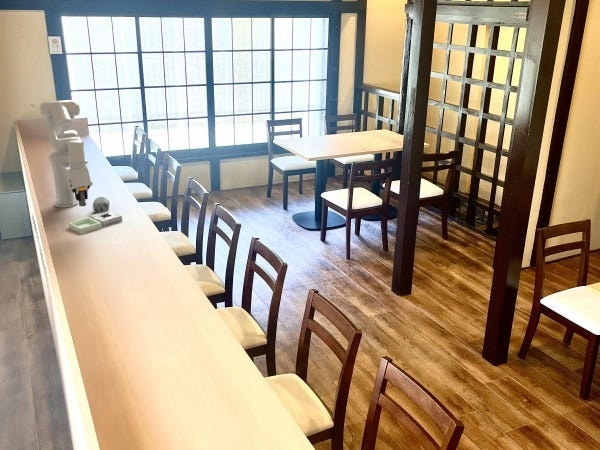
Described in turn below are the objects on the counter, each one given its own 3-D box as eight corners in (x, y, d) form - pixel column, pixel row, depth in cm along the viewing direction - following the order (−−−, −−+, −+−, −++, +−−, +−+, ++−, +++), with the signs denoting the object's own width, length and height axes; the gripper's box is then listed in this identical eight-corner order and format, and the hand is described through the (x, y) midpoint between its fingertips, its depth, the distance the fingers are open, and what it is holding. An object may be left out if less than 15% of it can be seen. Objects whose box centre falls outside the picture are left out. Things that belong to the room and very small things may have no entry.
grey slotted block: (90, 221, 304) (89, 215, 302) (109, 215, 312) (109, 210, 311) (102, 226, 296) (101, 221, 295) (122, 220, 305) (121, 215, 304)
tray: (68, 227, 294) (67, 222, 293) (89, 221, 302) (88, 217, 301) (80, 233, 286) (80, 228, 285) (101, 227, 295) (101, 222, 294)
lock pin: (76, 205, 289) (73, 186, 286) (84, 203, 293) (82, 184, 289) (80, 207, 287) (78, 188, 283) (89, 205, 290) (86, 186, 286)
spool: (112, 210, 311) (102, 194, 308) (97, 219, 309) (87, 203, 307) (115, 207, 324) (105, 193, 322) (100, 216, 323) (90, 201, 320)
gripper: (88, 160, 290) (92, 194, 297) (58, 166, 278) (62, 201, 285) (96, 163, 286) (100, 197, 292) (65, 169, 274) (70, 205, 280)
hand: (81, 199), depth 288 cm, fingers closed on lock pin, 3 cm apart
